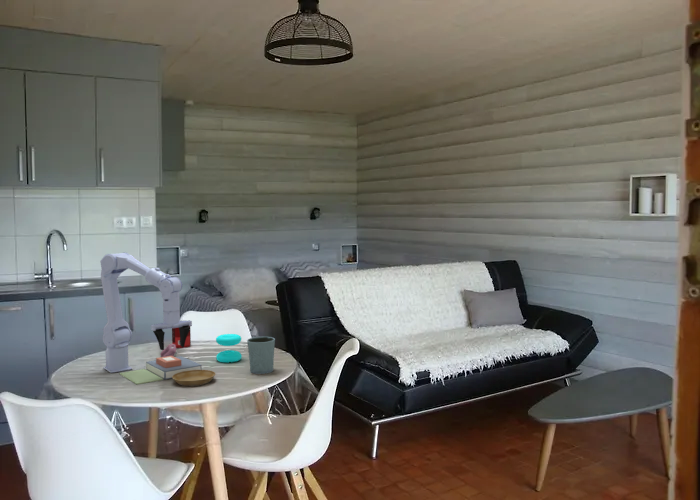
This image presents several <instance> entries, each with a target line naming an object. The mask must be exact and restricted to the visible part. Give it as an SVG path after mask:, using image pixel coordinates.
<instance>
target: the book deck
mask: <svg viewBox="0 0 700 500" xmlns="http://www.w3.org/2000/svg"><path fill="white" fill-rule="evenodd" d="M175 357H176V358H178V359H180V360H181V366H175V367H169V368H165V367H162V366H160V365H158V364H156V359H155V360H149V361H145V369H146V370H148V371H150V372H152V373H153V374H155V375H157V376H159V377H161V378H163V380H168V379H173V378H172V376H173V375H174V374H176V373H179V372H183V371H189V370H203V368H202V367H203V366H202V364H200V363H198V362H196V361H194V360H191V359H189V358H186V357H184V356H181V355H180V356H175Z"/></svg>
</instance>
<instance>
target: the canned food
mask: <svg viewBox="0 0 700 500" xmlns="http://www.w3.org/2000/svg"><path fill="white" fill-rule="evenodd" d="M180 321H187V320H183V319H182V320H181V319H180ZM172 327H173V326H172ZM189 327H190V328H191V326H189ZM191 334H192V333H191V330H190V331H189V333H188V335H187V338H186V341H185V346H184V347H181V346H180V332H179V327H178V328H171V341H172V342H171V344H175V345H176V349H184V348H189V347H191V344H192V343H191V341H192V340H191V337H192V335H191Z"/></svg>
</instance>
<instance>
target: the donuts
mask: <svg viewBox="0 0 700 500" xmlns="http://www.w3.org/2000/svg"><path fill="white" fill-rule="evenodd" d="M215 342H216V343H217V344H218V345H220V346H224V347H232V346H236V345H237V346H238V344H240V343H241V342H242V337H241V335H240V334H236V333H224V334H220V335H218V336H216V338H215ZM215 357H216V360H217V361H218V362H219V363H226V364H227V363H229V362H231V363H236V362H238V361H241V359H242V358H243V357H242V353H241V352H240V351H238V350H234V349H226V350H222V351H220V352H218V353H217V354H216V356H215Z"/></svg>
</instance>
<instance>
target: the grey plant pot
mask: <svg viewBox="0 0 700 500" xmlns="http://www.w3.org/2000/svg"><path fill="white" fill-rule="evenodd" d="M246 341H247V342H246V343H247V347H248V348H247V350H248V358H249V359H248V360H249V367H250V369H249V370H250V371H249V372H250V373H252V374H256V375H263V374H265V373H266V374H271V373H272V372H274V363H275V358H274V357H275V356H274V355H275V345H276V343H275V342H276V338H274V337H272V336H256V337H255V336H254V337H250V338H248V339H247V340H246Z"/></svg>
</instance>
